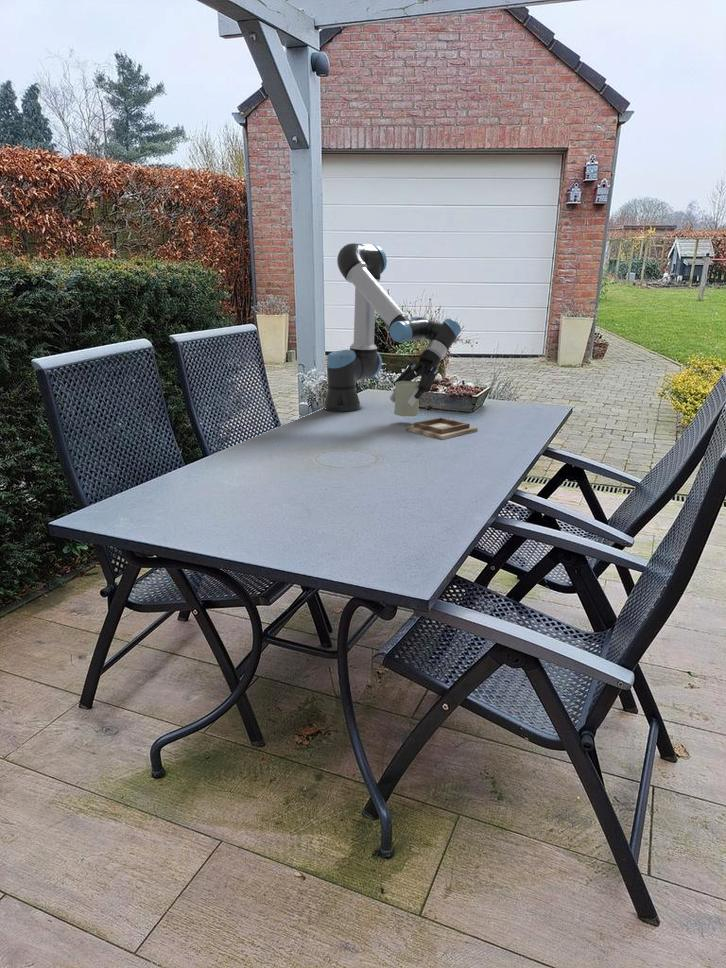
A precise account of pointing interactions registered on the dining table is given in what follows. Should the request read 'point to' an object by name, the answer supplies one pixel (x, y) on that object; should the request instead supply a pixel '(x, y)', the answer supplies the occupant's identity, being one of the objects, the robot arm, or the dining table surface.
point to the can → (405, 398)
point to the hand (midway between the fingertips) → (400, 402)
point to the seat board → (441, 428)
